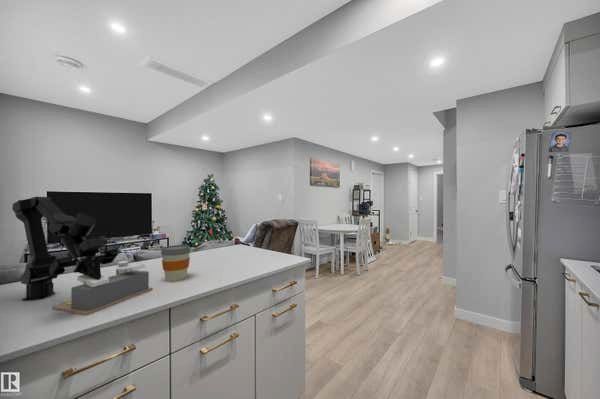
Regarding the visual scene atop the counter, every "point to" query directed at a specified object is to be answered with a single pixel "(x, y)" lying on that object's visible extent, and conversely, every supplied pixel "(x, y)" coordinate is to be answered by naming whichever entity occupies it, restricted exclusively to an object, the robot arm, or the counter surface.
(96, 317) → the counter surface
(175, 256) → the reusable coffee cup
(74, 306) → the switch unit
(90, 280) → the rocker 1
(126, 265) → the supplement bottle
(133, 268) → the rocker
